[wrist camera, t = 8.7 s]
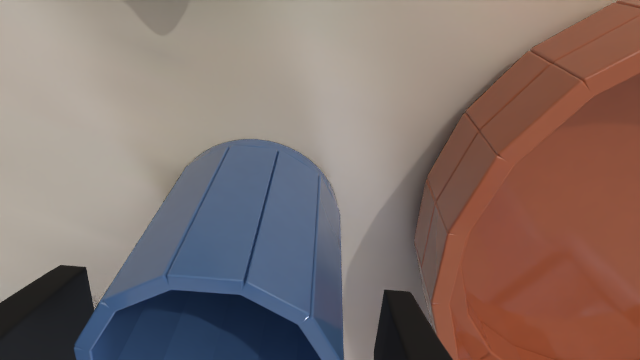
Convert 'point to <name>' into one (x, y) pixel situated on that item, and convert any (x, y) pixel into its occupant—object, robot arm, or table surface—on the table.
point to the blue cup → (230, 266)
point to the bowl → (542, 205)
